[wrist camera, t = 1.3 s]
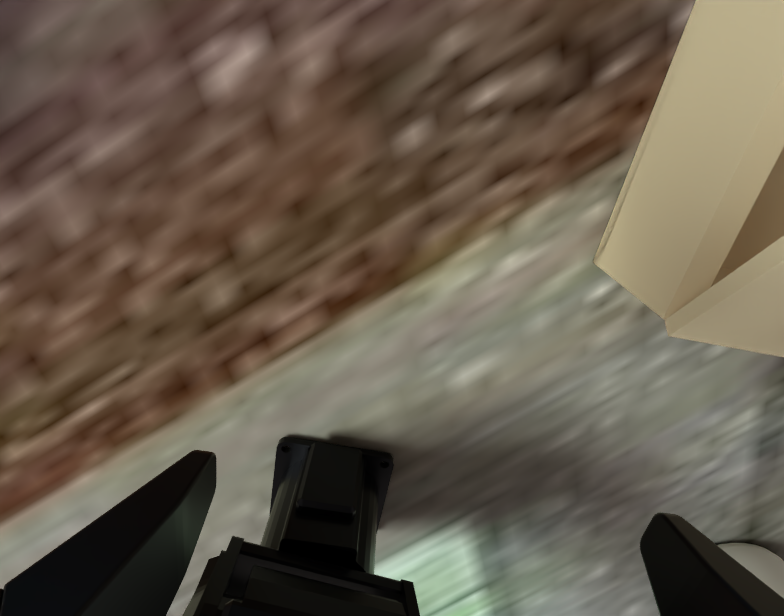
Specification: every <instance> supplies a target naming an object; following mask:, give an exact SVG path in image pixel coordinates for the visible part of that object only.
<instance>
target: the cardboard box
mask: <svg viewBox="0 0 784 616" xmlns="http://www.w3.org/2000/svg"><path fill="white" fill-rule="evenodd" d="M782 236H784V0H696V2H695V4H694V7H693V9H692V12H691V14H690V17H689V19H688V22H687V24H686V27H685V29H684V32H683V35H682V37H681V40H680V42H679V45H678V47H677V50H676V52H675V55H674V57H673V60H672V62H671V65H670V67H669V70H668V73H667V75H666V78H665V80H664V83H663V85H662V88H661V90H660V93H659V95H658V98H657V100H656V103H655V106H654V108H653V111H652V113H651V116H650V118H649V121H648V123H647V126H646V128H645V131H644V133H643V136H642V138H641V141H640V144H639V146H638V149H637V151H636V154H635V156H634V159H633V161H632V164H631V166H630V169H629V171H628V174H627V177H626V179H625V182H624V184H623V187H622V189H621V192H620V194H619V197H618V199H617V202H616V204H615V207H614V209H613V212H612V215H611V217H610V220H609V222H608V225H607V227H606V230H605V232H604V235H603V237H602V240H601V242H600V245H599V248H598V250H597V253H596V255H595V258H594V260H593V263H594V264H596V265H597V266H598V267H599V268H601V269H602V270H603V271H604V272H606V273H607V274H608V275H609V276H611V277H612V278H613V279H614V280H615V281H617V282H618V283H619V284H620V285H622V286H623V287H624V288H625V289H627V290H628V291H629V292H630V293H632V294H633V295H634V296H635V297H637V298H638V299H639V300H640V301H641V302H643V303H644V304H645V305H646V306H648V307H649V308H650V309H651V310H653V311H654V312H655V313H656V314H658V315H659V316H660V317H661V318H662V319H667V318H669V317H670V316H671V315H673V314H674V313H676V312H677V311H678V310H680V309H681V308H683V307H684V306H685V305H687V304H688V303H690V302H691V301H692V300H694V299H695V298H697V297H698V296H699V295H701V294H702V293H704V292H705V291H706V290H708V289H709V288H711V287H712V286H713V285H715V284H716V283H718V282H719V281H721V280H722V279H723V278H725V277H726V276H728V275H729V274H730V273H732V272H733V271H735V270H736V269H737V268H739V267H740V266H742V265H743V264H744V263H746V262H747V261H749V260H750V259H751V258H753V257H754V256H756V255H757V254H758V253H760V252H761V251H763V250H764V249H765V248H767V247H768V246H770V245H771V244H773V243H774V242H775V241H777V240H778V239H780V238H781V237H782Z"/></svg>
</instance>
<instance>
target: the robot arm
mask: <svg viewBox="0 0 784 616" xmlns="http://www.w3.org/2000/svg"><path fill="white" fill-rule="evenodd" d="M285 446H289V447H290V448H287V447H285ZM383 461H386V462H387V463H383ZM392 470H393V457H392V455H390V454H388V453H384V452H378V451H372V450H366V449H359V448H353V447H347V446H341V445H334V444H328V443H322V442H316V441H309V440H303V439H297V438H291V437H284V438H281V439H280V440H279V443H278V446H277V451H276V460H275V470H274V479H273V488H272V498H271V507H270V517H269V520H268V523H267V526H266V529H265V532H264V535H263V538H262V542H261V545H257V544H253V543H249V542H245V541H244V539H243V538H239V537H235V536H232V539H231V541H230V543H229V546H228V548H227V550H226V551H221V553H220V556H217V557H214V558H211V559H209V560H208V563H207V565H206V567H205V570H204V572H203V575H202V577H201V579H200V582H199V584H198V586H197V589H196V591H195V593H194V595H193V597H192V599H191V601H190V603H189V605H188V606H187V608H186V610H185V612H184V614H183V616H420V613H419V609H418V604H417V599H416V595H415V590H414V585H413V582H410V581H406V580H402V579H401V581H397V580H393V579H390V578H386V577H382V576H378V575H374V564H375V547H376V534H377V530H378V526H379V522H380V518H381V514H382V510H383V506H384V502H385V498H386V494H387V490H388V486H389V482H390V478H391V474H392ZM215 489H216V455H215V454H214V453H213V452H208V451H201V450H194V451H192V452H190V453H189V454H187V455H186V456H184V457H183V458H182V459H180V460H179V461H177V462H176V463H175V464H173V465H172V466H170V467H169V468H168V469H166V470H165V471H163V472H162V473H161V474H159V475H158V476H156V477H155V478H154V479H152V480H151V481H149V482H148V483H147V484H145V485H144V486H142V487H141V488H140V489H138V490H137V491H135V492H134V493H133V494H131V495H130V496H128V497H127V498H126V499H124V500H123V501H121V502H120V503H119V504H117V505H116V506H114V507H113V508H112V509H110V510H109V511H107V512H106V513H105V514H103V515H102V516H100V517H99V518H98V519H96V520H95V521H93V522H92V523H91V524H89V525H88V526H86V527H85V528H84V529H82V530H81V531H79V532H78V533H77V534H75V535H74V536H72V537H71V538H70V539H68V540H67V541H65V542H64V543H63V544H61V545H60V546H58V547H57V548H56V549H54V550H53V551H51V552H50V553H49V554H47V555H46V556H44V557H43V558H42V559H40V560H39V561H37V562H36V563H35V564H33V565H32V566H30V567H29V568H28V569H26V570H25V571H23V572H22V573H21V574H19V575H18V576H16V577H15V578H14V579H12V580H11V581H9V582H8V583H7V584H5V586H4V590H3V589H0V616H166V614H167V612H168V610H169V608H170V606H171V604H172V602H173V599H174V597H175V595H176V593H177V591H178V589H179V587H180V585H181V582H182V580H183V578H184V576H185V573H186V571H187V568H188V565H189V563H190V560H191V557H192V555H193V552H194V549H195V546H196V544H197V541H198V538H199V535H200V532H201V530H202V527H203V524H204V521H205V519H206V516H207V513H208V510H209V507H210V505H211V502H212V499H213V496H214V493H215ZM640 550H641V554H642V557H643V561H644V564H645V567H646V570H647V574H648V577H649V580H650V584H651V587H652V590H653V593H654V597H655V600H656V603H657V607H658V610H659V613H660V616H784V598H783V597H781V596H780V595H779V594H778V593H776V592H775V591H774V590H773V589H771V588H770V587H769V586H767V585H766V584H765V583H764V582H762V581H761V580H760V579H759V578H757V577H756V576H755V575H754V574H752V573H751V572H750V571H749V570H747V569H746V568H745V567H744V566H742V565H741V564H740V563H739V562H737V561H736V560H735V559H734V558H732V557H731V556H730V555H728V554H727V553H726V552H725V551H723V550H722V549H721V548H720V547H718V546H717V545H716V544H715V543H713V542H712V541H711V540H710V539H708V538H707V537H706V536H705V535H703V534H702V533H701V532H700V531H698V530H697V529H696V528H695V527H693V526H692V525H691V524H689V523H688V522H687V521H686V520H684V519H683V518H682V517H680V516H678V515H675V514H668V513H657V514H655V515H654V516H653V518H652V520H651V522H650V523H649V525H648V527H647V529H646V531H645V532H644V534H643V536H642V538H641V541H640Z"/></svg>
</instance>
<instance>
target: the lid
mask: <svg viewBox="0 0 784 616" xmlns="http://www.w3.org/2000/svg"><path fill="white" fill-rule="evenodd" d="M665 324H666V329H667V333H668V336H670V337H676V338H681V339H687V340H692V341H697V342H703V343H708V344H714V345H719V346H725V347H730V348H736V349H741V350H747V351H752V352H758V353H763V354H768V355H774V356H779V357H784V236H782V237H781V238H780V239H778V240H777V241H775V242H774V243H773V244H771V245H770V246H768V247H767V248H765V249H764V250H763V251H761V252H760V253H758V254H757V255H756V256H754V257H753V258H751V259H750V260H749V261H747V262H746V263H744V264H743V265H742V266H740V267H739V268H737V269H736V270H735V271H733V272H732V273H730V274H729V275H728V276H726V277H725V278H723V279H722V280H721V281H719V282H718V283H716V284H715V285H713V286H712V287H711V288H709V289H708V290H706V291H705V292H704V293H702V294H701V295H699V296H698V297H697V298H695V299H694V300H692V301H691V302H690V303H688V304H687V305H685V306H684V307H683V308H681V309H680V310H678V311H677V312H676V313H674V314H673V315H671V316H670V317H669V318H667V319H666V320H665Z"/></svg>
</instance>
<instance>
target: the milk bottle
mask: <svg viewBox="0 0 784 616" xmlns="http://www.w3.org/2000/svg"><path fill="white" fill-rule="evenodd" d="M717 546H718V547H720V548H721V549H722V550H723V551H725V552H726V553H727V554H728V555H730V556H731V557H732V558H734V559H735V560H736V561H737V562H739V563H740V564H741V565H742V566H744V567H745V568H746V569H747V570H749V571H750V572H751V573H752V574H754V575H755V576H756V577H757V578H759V579H760V580H761V581H762V582H764V583H765V584H766V585H767V586H769V587H770V588H771V589H773V590H774V591H775V592H776V593H778V594H779V595H780V596H781V597H783V598H784V561H783V560H782V559H781V558H780V557H779V556H777V555H776V554H774V553H772V552H771V551H769V550H767V549H766V548H764V547H760V546H757V545H754V544H747V543H727V544H719V545H717Z"/></svg>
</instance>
